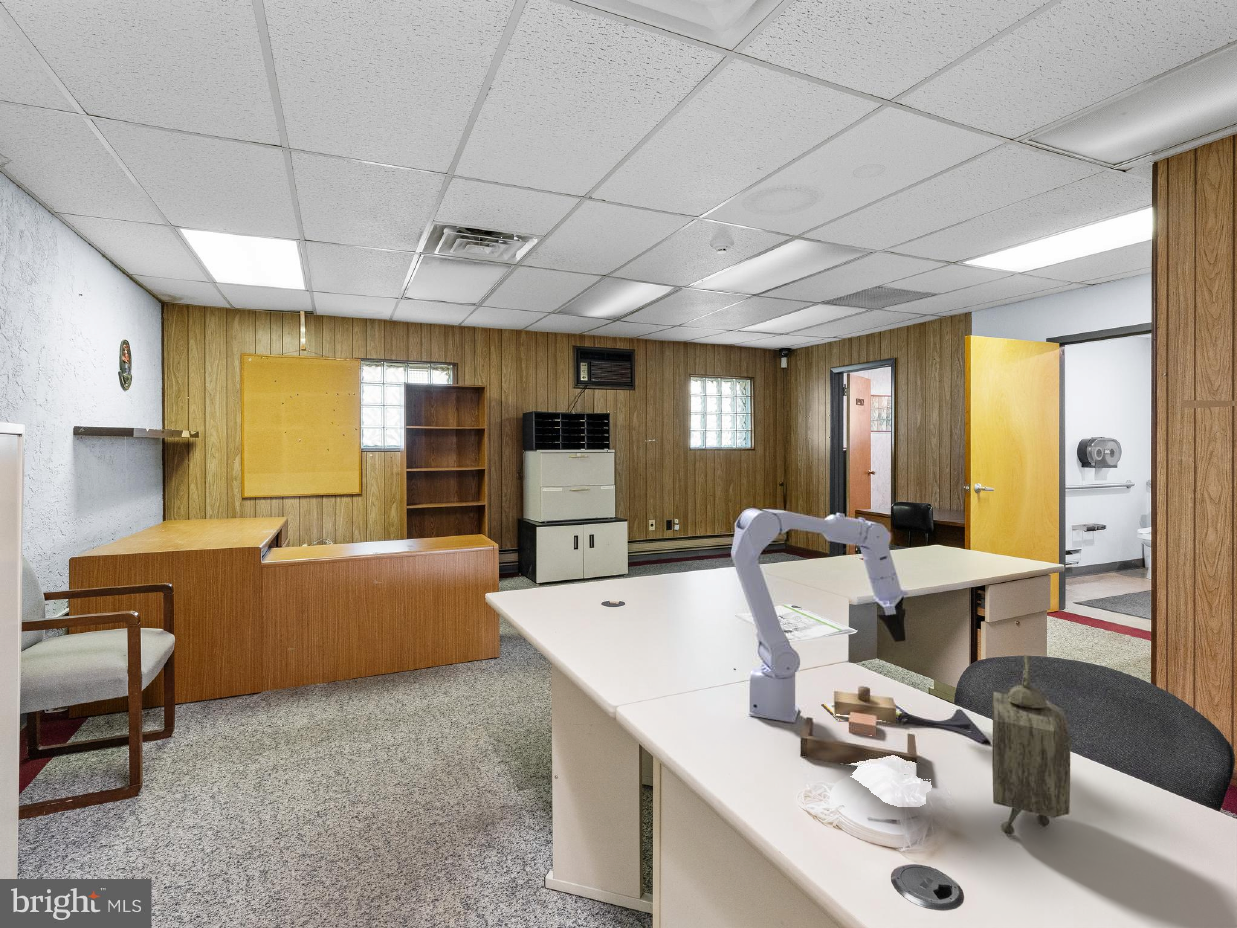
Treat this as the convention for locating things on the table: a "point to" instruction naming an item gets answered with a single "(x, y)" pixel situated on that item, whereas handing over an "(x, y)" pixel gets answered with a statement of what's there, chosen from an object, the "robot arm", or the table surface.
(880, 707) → the wooden box with knob
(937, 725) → the bracket
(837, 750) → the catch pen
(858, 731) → the tile
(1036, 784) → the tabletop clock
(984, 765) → the table surface
